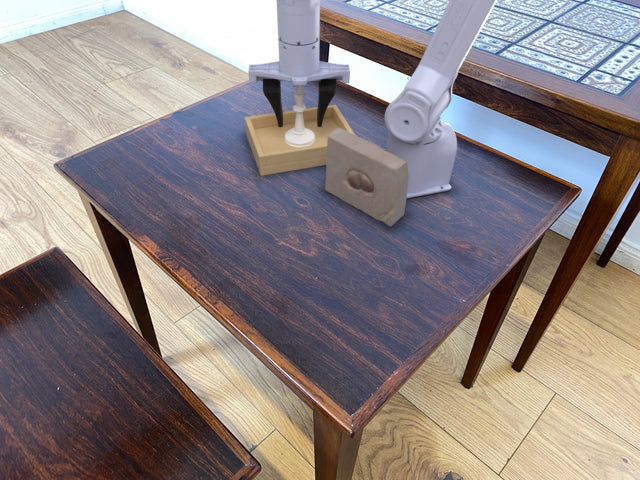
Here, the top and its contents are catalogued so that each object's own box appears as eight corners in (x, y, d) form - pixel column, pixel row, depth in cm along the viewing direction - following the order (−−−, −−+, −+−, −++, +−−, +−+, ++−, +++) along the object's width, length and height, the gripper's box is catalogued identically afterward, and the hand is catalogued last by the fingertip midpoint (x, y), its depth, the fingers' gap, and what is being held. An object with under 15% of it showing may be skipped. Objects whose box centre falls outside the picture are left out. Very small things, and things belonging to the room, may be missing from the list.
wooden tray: (335, 122, 87) (335, 104, 85) (357, 159, 79) (359, 141, 77) (246, 135, 84) (244, 116, 81) (260, 176, 76) (259, 156, 73)
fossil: (323, 191, 73) (324, 135, 67) (338, 180, 75) (341, 124, 69) (390, 228, 68) (399, 171, 61) (405, 215, 70) (415, 159, 63)
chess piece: (306, 151, 78) (305, 91, 71) (278, 142, 80) (275, 84, 73) (320, 135, 81) (321, 77, 74) (293, 128, 83) (292, 70, 76)
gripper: (243, 49, 66) (252, 138, 75) (353, 49, 66) (348, 137, 76) (247, 28, 71) (254, 113, 80) (349, 28, 71) (345, 113, 81)
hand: (300, 123), depth 78 cm, fingers open, 5 cm apart
